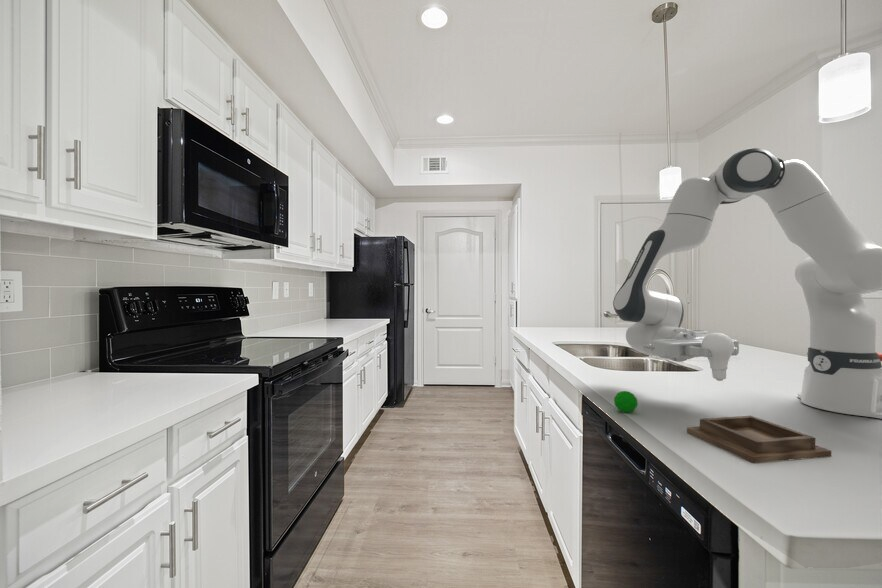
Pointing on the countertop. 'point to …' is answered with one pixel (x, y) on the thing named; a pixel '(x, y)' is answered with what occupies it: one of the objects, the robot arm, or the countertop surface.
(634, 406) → the polyhedron
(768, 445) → the brown rimmed tray
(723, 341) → the lightbulb
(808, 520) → the countertop surface
